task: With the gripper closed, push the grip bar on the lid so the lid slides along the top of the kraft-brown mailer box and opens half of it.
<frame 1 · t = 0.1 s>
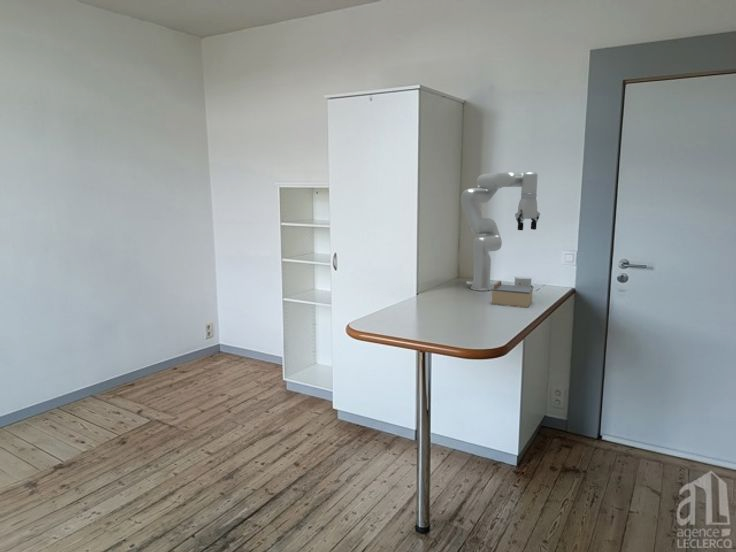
hand: (526, 229, 264), 37 cm above the table, tool pointing down, fingers open, 9 cm apart
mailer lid: (512, 286, 260), point 9 cm above the table, slide at 0.0 cm
small box: (522, 296, 278), on the table
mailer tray: (511, 303, 261), on the table
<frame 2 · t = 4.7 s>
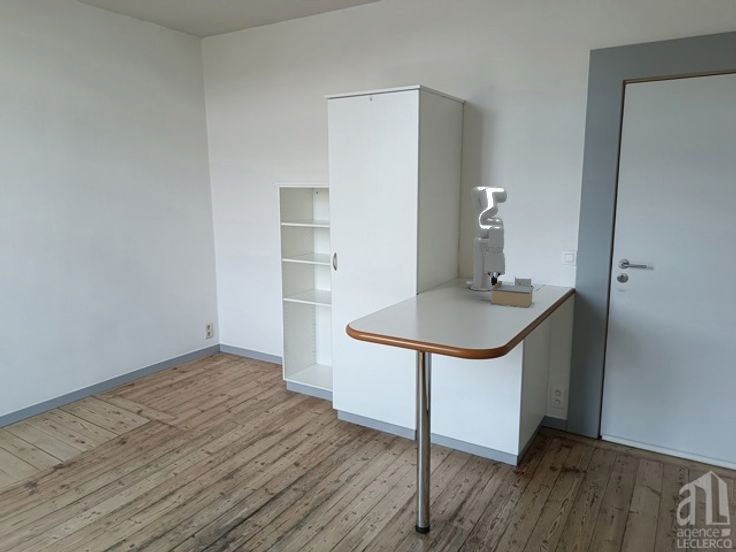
hand: (493, 285, 264), 9 cm above the table, tool pointing down, fingers closed
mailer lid: (513, 286, 260), point 9 cm above the table, slide at 0.4 cm, touching gripper
everything else where it was.
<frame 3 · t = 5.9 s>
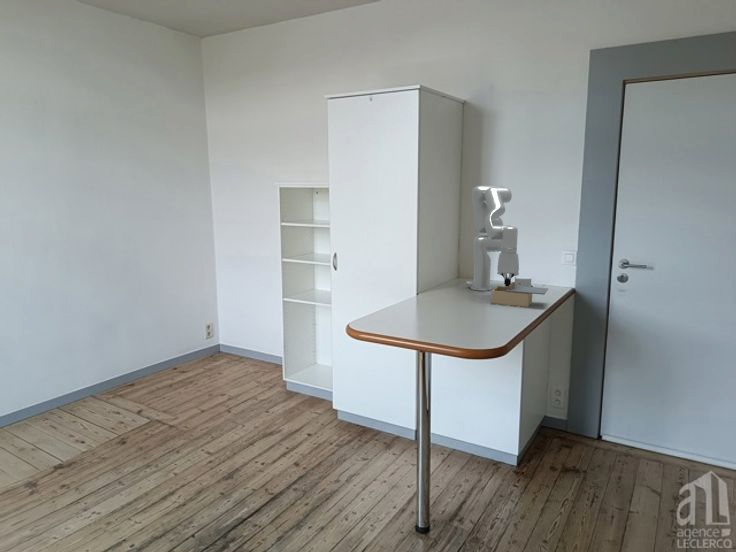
hand: (507, 286, 261), 9 cm above the table, tool pointing down, fingers closed
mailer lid: (527, 287, 257), point 9 cm above the table, slide at 7.3 cm, touching gripper
everything else where it was.
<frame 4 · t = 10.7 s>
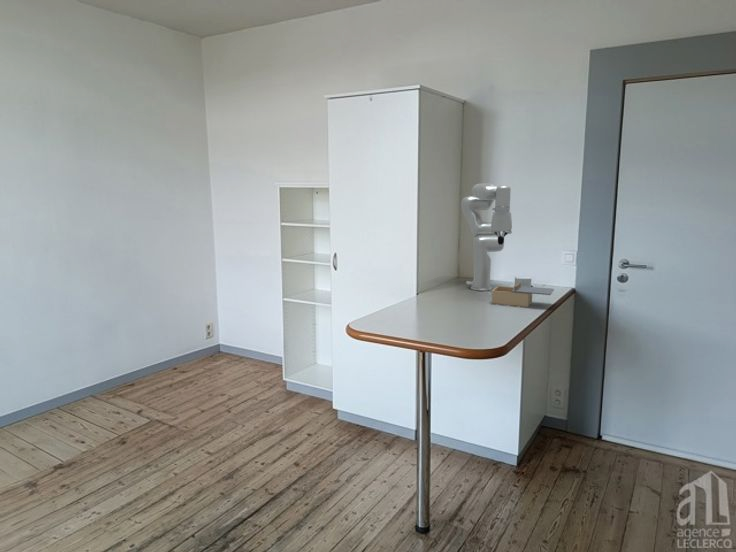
hand: (500, 244, 269), 29 cm above the table, tool pointing down, fingers closed
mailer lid: (532, 288, 256), point 9 cm above the table, slide at 10.0 cm
everything else where it was.
at the end: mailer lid slide at 10.0 cm; small box moved 0.3 cm from its start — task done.
